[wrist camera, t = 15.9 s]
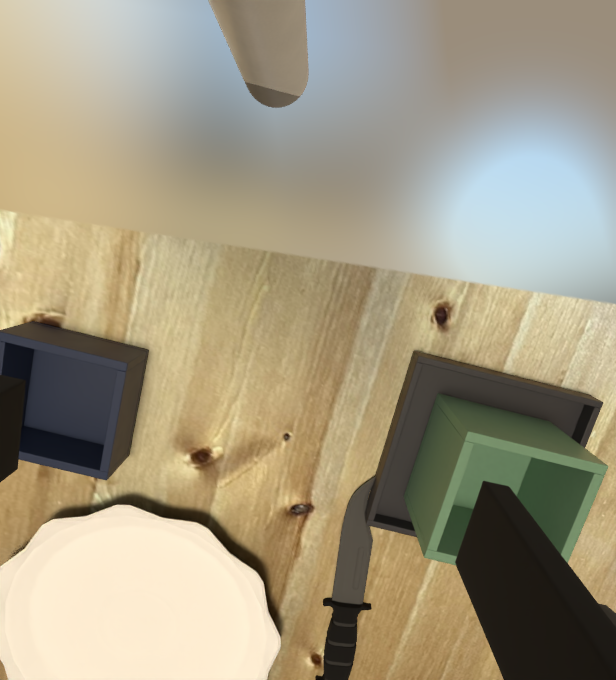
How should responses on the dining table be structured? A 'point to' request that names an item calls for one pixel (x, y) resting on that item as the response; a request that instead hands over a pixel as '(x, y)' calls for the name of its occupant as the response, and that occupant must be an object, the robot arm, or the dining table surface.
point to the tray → (472, 385)
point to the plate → (132, 603)
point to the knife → (348, 588)
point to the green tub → (497, 474)
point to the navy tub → (74, 396)
